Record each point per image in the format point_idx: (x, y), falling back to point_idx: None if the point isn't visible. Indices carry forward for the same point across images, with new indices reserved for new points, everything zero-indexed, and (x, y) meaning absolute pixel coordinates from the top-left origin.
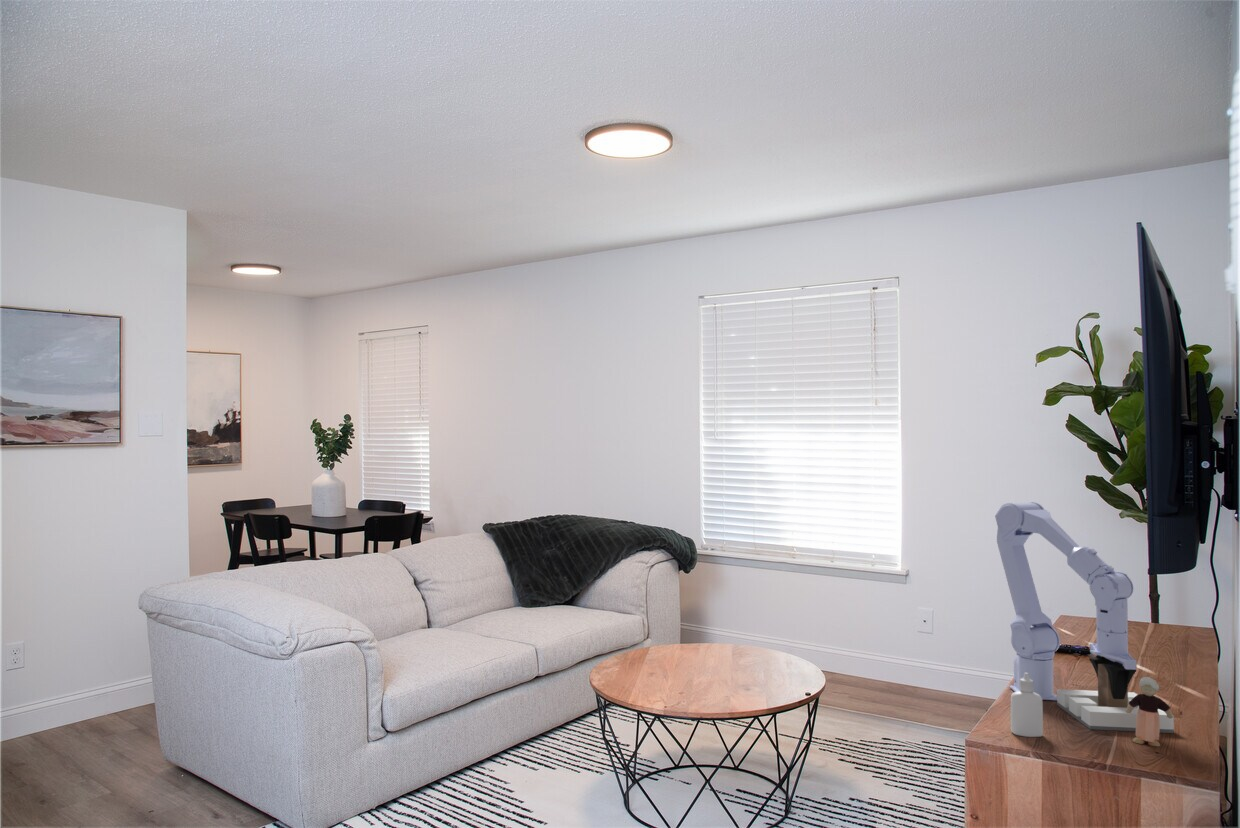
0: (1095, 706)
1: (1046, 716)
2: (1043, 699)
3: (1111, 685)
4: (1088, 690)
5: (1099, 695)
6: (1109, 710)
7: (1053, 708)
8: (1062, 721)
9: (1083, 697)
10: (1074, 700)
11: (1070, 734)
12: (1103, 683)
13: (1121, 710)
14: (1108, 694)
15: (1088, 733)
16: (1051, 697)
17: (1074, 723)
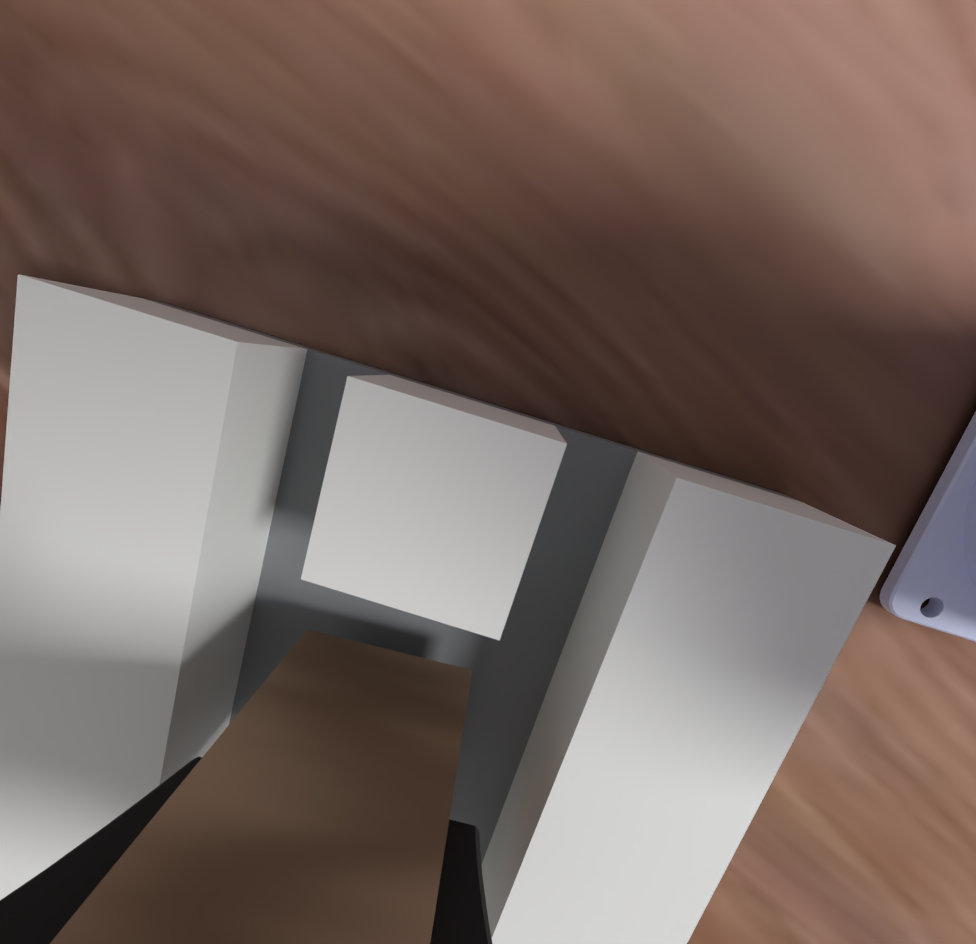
0: (206, 489)
1: (521, 149)
2: (948, 464)
3: (56, 898)
4: (742, 834)
5: (432, 745)
6: (72, 530)
7: (716, 393)
8: (372, 207)
9: (596, 648)
10: (434, 415)
11: (38, 15)
12: (254, 896)
13: (76, 645)
14: (210, 755)
15: (70, 213)
16: (947, 555)
17: (313, 281)
